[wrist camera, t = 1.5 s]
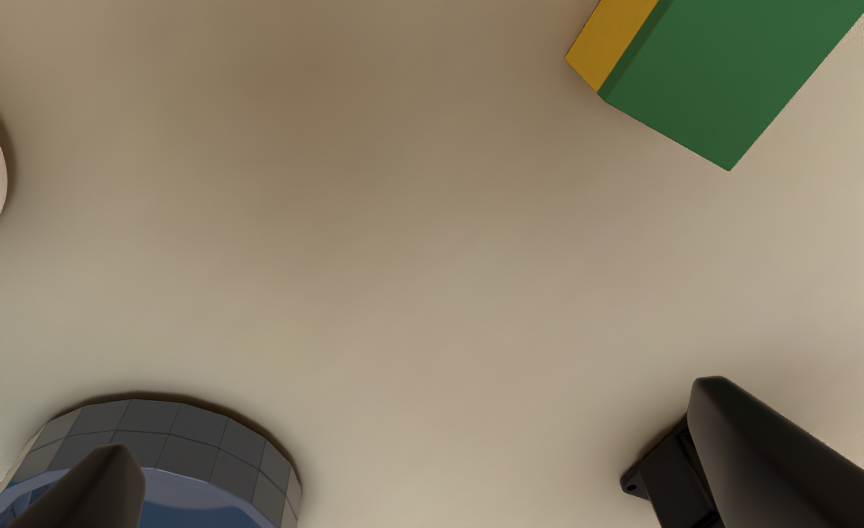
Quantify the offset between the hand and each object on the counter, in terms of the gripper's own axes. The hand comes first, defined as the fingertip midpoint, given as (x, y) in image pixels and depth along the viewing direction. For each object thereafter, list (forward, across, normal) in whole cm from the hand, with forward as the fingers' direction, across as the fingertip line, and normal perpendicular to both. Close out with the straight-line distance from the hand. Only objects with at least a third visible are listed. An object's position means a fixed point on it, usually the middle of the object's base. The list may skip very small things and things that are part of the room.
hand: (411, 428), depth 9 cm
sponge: (+13, -9, -4) cm, 17 cm away
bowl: (+13, +14, +17) cm, 26 cm away
